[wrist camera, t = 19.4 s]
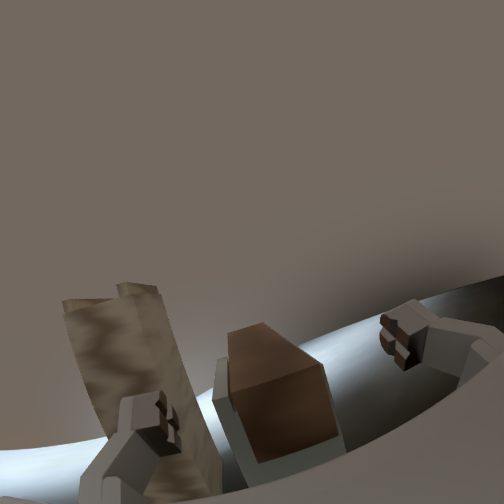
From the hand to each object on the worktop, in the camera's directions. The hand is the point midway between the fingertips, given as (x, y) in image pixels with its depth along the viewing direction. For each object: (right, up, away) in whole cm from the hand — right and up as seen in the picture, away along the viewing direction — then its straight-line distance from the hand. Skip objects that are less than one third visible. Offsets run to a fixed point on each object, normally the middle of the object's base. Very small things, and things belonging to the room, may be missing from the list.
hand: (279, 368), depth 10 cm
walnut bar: (0, -5, +9) cm, 11 cm away
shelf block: (-8, -27, +19) cm, 34 cm away
